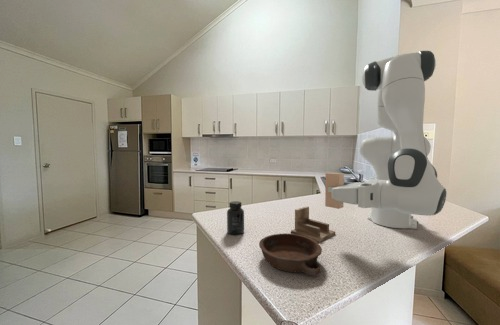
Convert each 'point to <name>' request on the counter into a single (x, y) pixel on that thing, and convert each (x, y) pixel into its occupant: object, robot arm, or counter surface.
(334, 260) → the counter surface
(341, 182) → the clay block
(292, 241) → the dish
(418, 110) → the robot arm
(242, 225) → the supplement bottle
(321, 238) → the tan railed base plate
